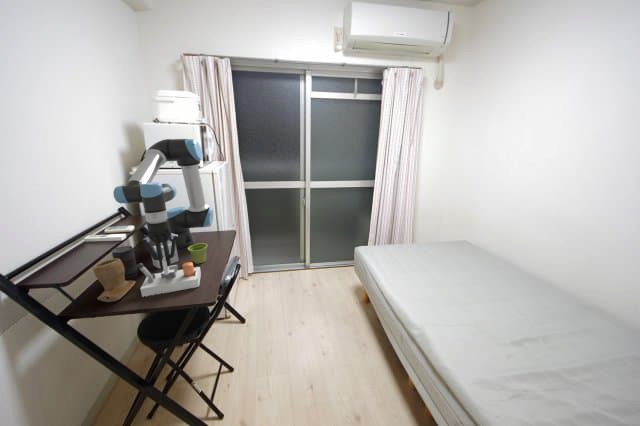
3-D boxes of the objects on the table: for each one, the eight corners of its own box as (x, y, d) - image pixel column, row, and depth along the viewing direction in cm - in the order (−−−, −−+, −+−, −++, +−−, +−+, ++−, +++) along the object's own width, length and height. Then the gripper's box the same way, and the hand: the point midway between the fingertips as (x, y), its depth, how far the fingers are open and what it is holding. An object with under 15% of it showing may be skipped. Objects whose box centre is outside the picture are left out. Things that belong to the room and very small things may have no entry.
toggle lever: (150, 279, 115) (136, 263, 111) (156, 276, 115) (141, 261, 111) (149, 282, 112) (134, 266, 109) (154, 279, 113) (140, 263, 109)
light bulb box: (173, 257, 144) (169, 240, 140) (179, 261, 140) (176, 242, 137) (152, 265, 135) (148, 246, 132) (158, 269, 131) (154, 249, 128)
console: (149, 282, 119) (147, 271, 117) (200, 273, 126) (199, 263, 125) (142, 297, 108) (139, 284, 107) (198, 286, 116) (196, 275, 114)
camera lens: (116, 283, 119) (108, 253, 114) (121, 275, 126) (114, 247, 122) (137, 279, 122) (130, 250, 118) (141, 271, 129) (134, 244, 125)
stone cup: (111, 285, 117) (103, 255, 113) (139, 283, 119) (133, 253, 115) (88, 305, 103) (78, 272, 99) (120, 303, 105) (112, 270, 100)
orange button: (185, 274, 120) (183, 263, 118) (195, 272, 122) (193, 261, 120) (183, 279, 116) (181, 267, 114) (194, 277, 118) (192, 265, 116)
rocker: (166, 270, 119) (165, 265, 118) (178, 268, 120) (177, 264, 120) (161, 278, 110) (160, 274, 110) (174, 276, 112) (173, 271, 112)
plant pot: (202, 266, 134) (200, 251, 132) (186, 264, 136) (184, 249, 133) (212, 258, 143) (210, 243, 140) (198, 256, 145) (195, 242, 142)
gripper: (135, 225, 99) (147, 280, 105) (173, 221, 103) (182, 274, 109) (141, 220, 106) (151, 272, 112) (176, 217, 110) (185, 266, 116)
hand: (167, 273), depth 110 cm, fingers closed
